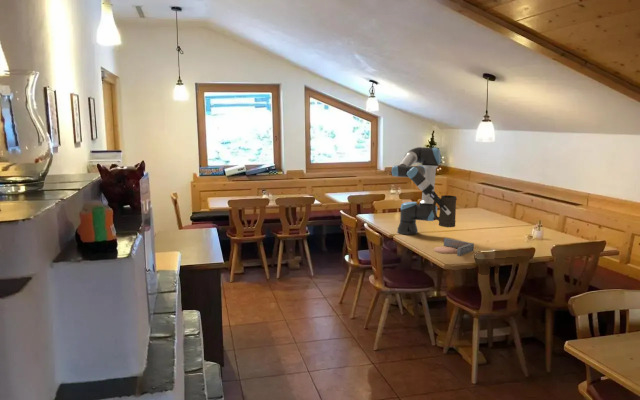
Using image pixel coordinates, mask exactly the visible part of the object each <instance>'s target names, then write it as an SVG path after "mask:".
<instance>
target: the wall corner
mask: <svg viewBox="0 0 640 400" xmlns="http://www.w3.org/2000/svg"><path fill="white" fill-rule="evenodd" d="M474 246H475V243H473V242H468V241H463V240H458V239H454V238H448V237H445V238H443V247H451V248H455V249H457V253H456V256H458V257H461V256H464V255H466V253H467V254H469V253H471V252H474V250H475V249H474V248H475V247H474Z"/></svg>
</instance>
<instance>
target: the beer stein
mask: <svg viewBox="0 0 640 400" xmlns="http://www.w3.org/2000/svg"><path fill="white" fill-rule="evenodd" d="M439 200H440V201H441V202H442V203H443V204H444V205H445V206H446V207H447V208H448V210H449V211H450V212H451V213H450V214H449V215H447V214H446V213H445V212H444V211H443V209H442V208H440V207H439V214H438V215H439V216H438V215H437V214H436V208H435V207H436V206H437V203H436V202H435V201H434V202H433V205H432V210H433V214H434V218H433V219H434V221H438V226H440V227H441V228H443V227H444V228H455V227H456V222H457V221H456V212H457V211H456V209H457V196H455V195H450V194H449V195H441V197H440V199H439Z"/></svg>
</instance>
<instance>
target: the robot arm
mask: <svg viewBox="0 0 640 400" xmlns="http://www.w3.org/2000/svg"><path fill="white" fill-rule="evenodd" d="M441 157H442V155H441V151H440V149H439V148H438V147H425V146H424V147H422V146H419V147H417V146H416V147H413V148H412V149H409V150H408V151H407V152H405V154H404V158H403V159H402V160H401V161H400V162H399V164H398V165H393V166H392V167H391V175H392V177H396V178H397V177H398V178H409V179H410V180H411V181H412V182H413V183H414V184H415V185H416V187H417V189H419V190H420V191H422V194H421V200H420V201H419V204H418V203H417V201H408V202H407V201H406V202H402V203H401V205H400V217H399V219H400V222H399V225H398V227H397V233H398V234H401V235H406V236H407V235H408V236H413V235H417V234H418V232H419V231H418V227H417V223H416V222H417V221H424V222H433V221H435V220H434V219H433V218H434V214H433V210H432V205H433V202H434V201H435V202H436V207H435V208H436V214H437V213H438V206H439V209H440V208H442V209H443V211H444V212H445V213H446V214H447V215H449V214H450V213H451V212H450V211H449V210H448V208H447V207H446V206H445V205H444V204H443V203H442V202H441V201H440V200H439V199H441V197H439V196H438V194H437V193H436V192H435V186H436V174H437V173H436V171H437V168H438V167H439V165H440V164H441V163H442V158H441ZM416 163H417V164H422V165H417V166H414V164H416Z"/></svg>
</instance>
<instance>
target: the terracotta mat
mask: <svg viewBox="0 0 640 400" xmlns="http://www.w3.org/2000/svg"><path fill="white" fill-rule="evenodd" d="M457 249H458V248H453V247H449V246H436V247H434V248H433V252H435V253H438V254H445V255H453V254H457Z"/></svg>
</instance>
